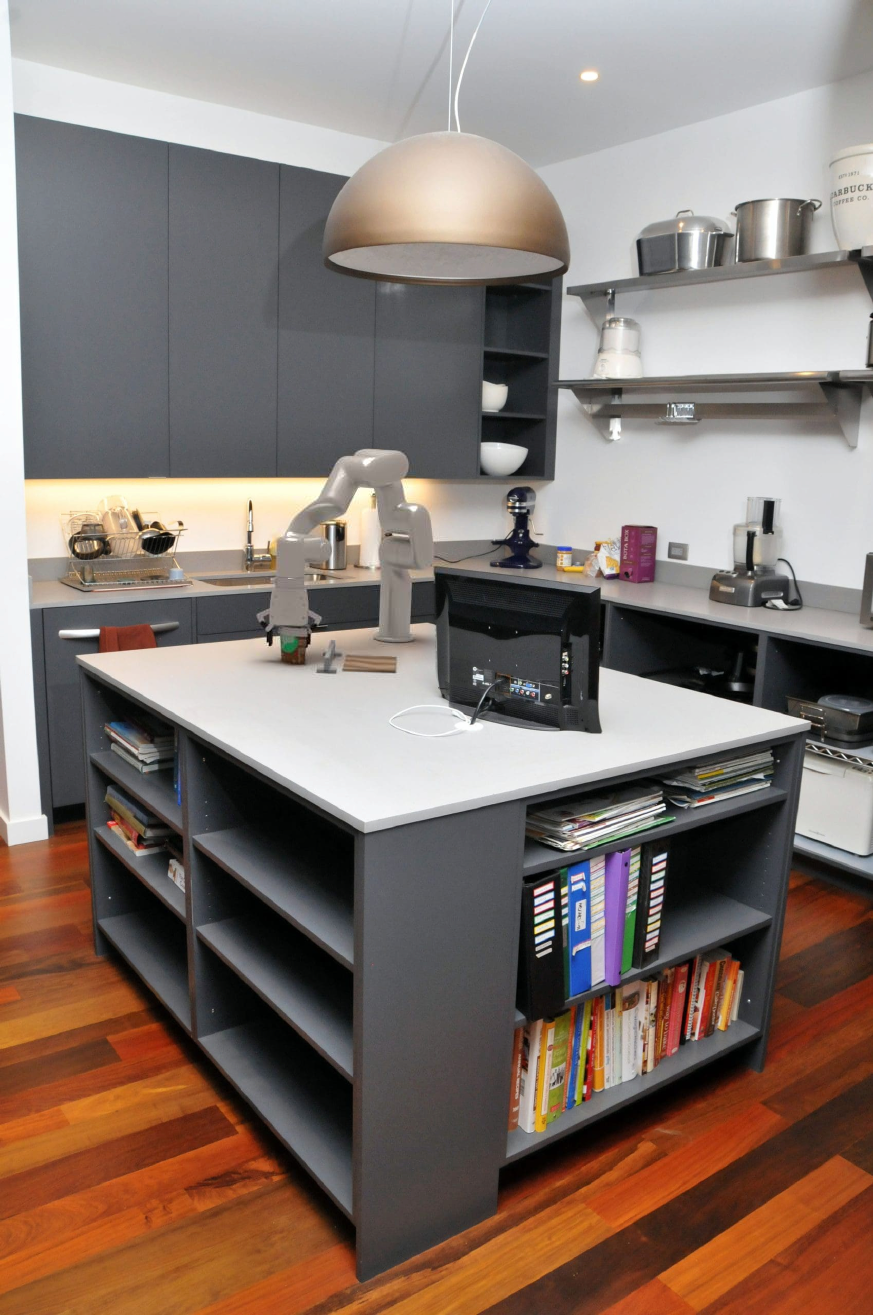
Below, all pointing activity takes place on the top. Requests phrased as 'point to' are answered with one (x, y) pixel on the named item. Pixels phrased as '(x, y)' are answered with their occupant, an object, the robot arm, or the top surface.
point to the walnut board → (370, 663)
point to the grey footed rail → (329, 659)
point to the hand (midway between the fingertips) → (288, 646)
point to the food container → (293, 644)
